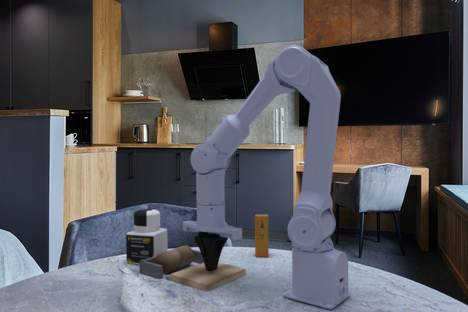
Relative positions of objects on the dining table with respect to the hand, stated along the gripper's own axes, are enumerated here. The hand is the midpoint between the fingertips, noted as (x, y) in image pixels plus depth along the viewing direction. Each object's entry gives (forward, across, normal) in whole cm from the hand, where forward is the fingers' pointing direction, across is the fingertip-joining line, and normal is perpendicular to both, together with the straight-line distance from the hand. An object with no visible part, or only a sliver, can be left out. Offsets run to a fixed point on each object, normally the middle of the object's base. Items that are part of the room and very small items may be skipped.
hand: (211, 269), depth 81 cm
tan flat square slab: (+2, +1, 0) cm, 2 cm away
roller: (0, +11, 0) cm, 11 cm away
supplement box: (+2, +1, -20) cm, 20 cm away
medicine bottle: (+2, +20, 0) cm, 20 cm away
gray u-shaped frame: (+2, +11, 0) cm, 11 cm away
